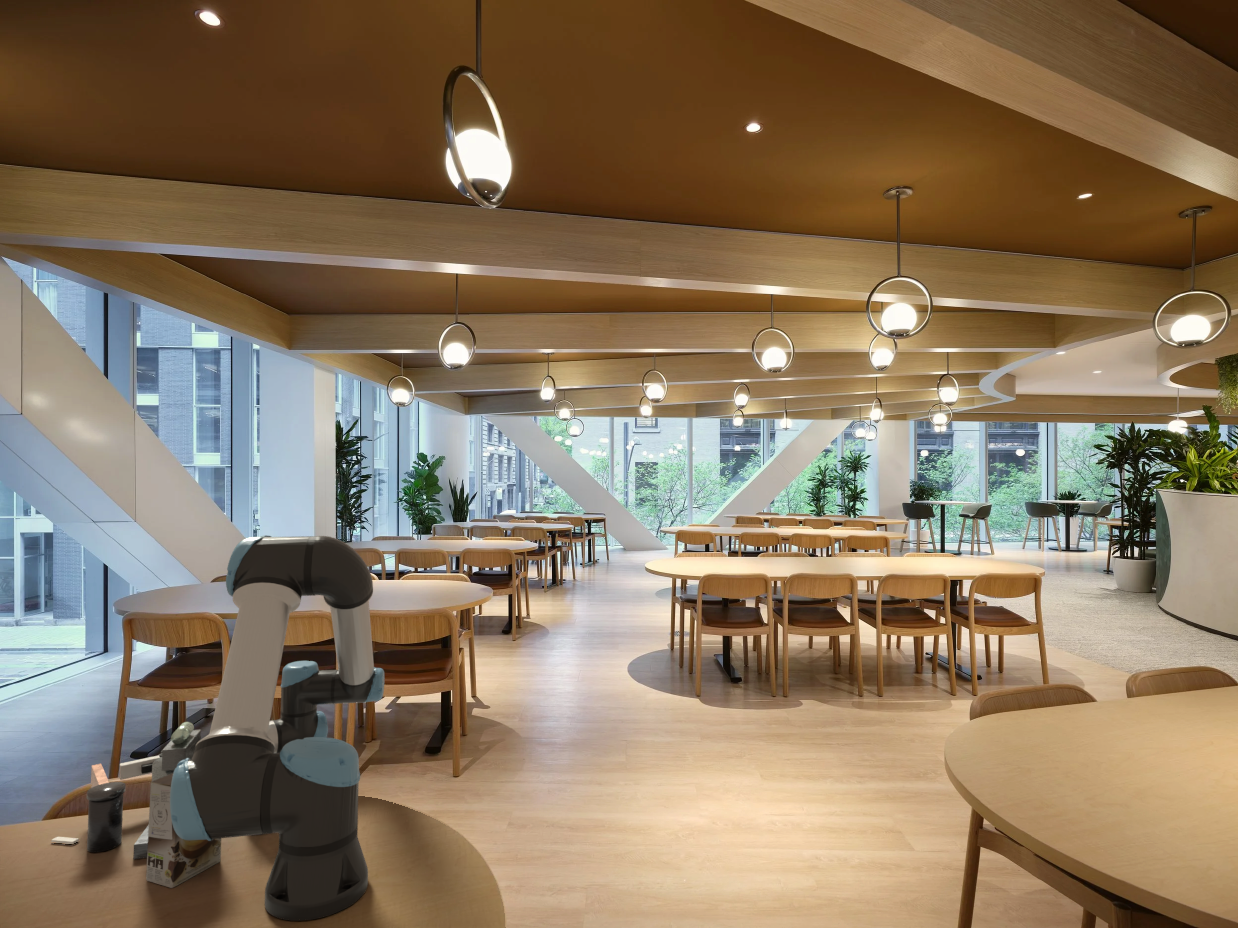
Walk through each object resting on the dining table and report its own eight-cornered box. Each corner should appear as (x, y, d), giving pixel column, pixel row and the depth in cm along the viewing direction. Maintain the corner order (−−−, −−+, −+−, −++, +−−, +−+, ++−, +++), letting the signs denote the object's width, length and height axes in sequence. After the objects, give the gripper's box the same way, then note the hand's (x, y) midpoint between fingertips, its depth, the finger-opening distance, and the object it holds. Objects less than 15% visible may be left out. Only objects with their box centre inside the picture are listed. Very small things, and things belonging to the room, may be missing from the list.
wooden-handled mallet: (125, 845, 126) (127, 788, 126) (86, 856, 122) (88, 797, 122) (112, 810, 139) (113, 759, 139) (76, 819, 135) (78, 766, 135)
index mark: (78, 841, 127) (78, 838, 127) (72, 844, 126) (72, 841, 126) (57, 839, 128) (57, 836, 128) (51, 843, 127) (51, 839, 127)
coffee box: (173, 889, 113) (176, 787, 113) (144, 881, 115) (148, 781, 115) (222, 861, 121) (225, 766, 122) (195, 853, 124) (198, 761, 124)
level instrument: (205, 850, 125) (208, 733, 125) (133, 859, 122) (137, 739, 122) (220, 821, 135) (223, 714, 136) (154, 829, 132) (158, 719, 133)
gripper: (259, 769, 148) (124, 802, 133) (242, 751, 158) (114, 780, 142) (260, 733, 149) (125, 762, 133) (243, 717, 158) (115, 742, 142)
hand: (120, 771), depth 137 cm, fingers closed
